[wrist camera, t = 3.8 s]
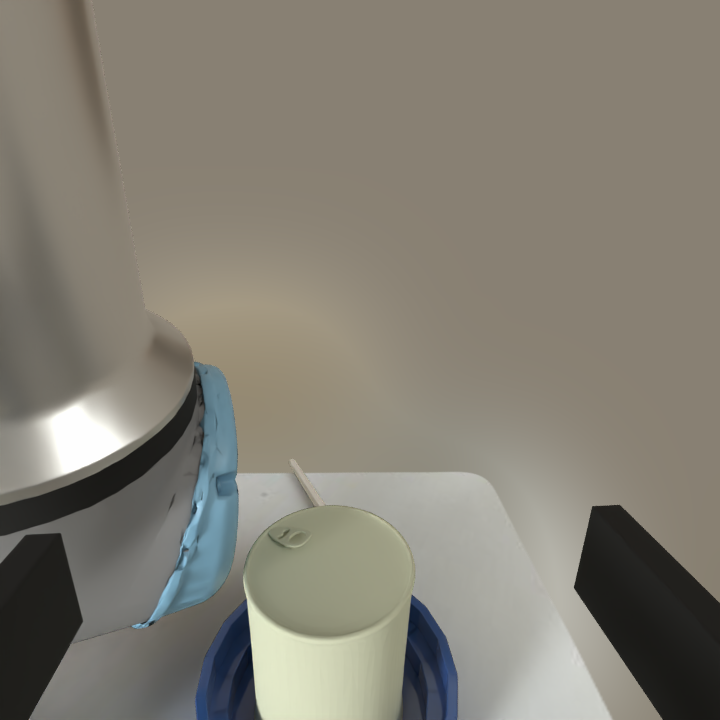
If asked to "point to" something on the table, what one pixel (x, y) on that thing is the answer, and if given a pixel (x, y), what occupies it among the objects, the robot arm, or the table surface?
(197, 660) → the table surface
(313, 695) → the can
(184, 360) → the robot arm
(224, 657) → the bowl
